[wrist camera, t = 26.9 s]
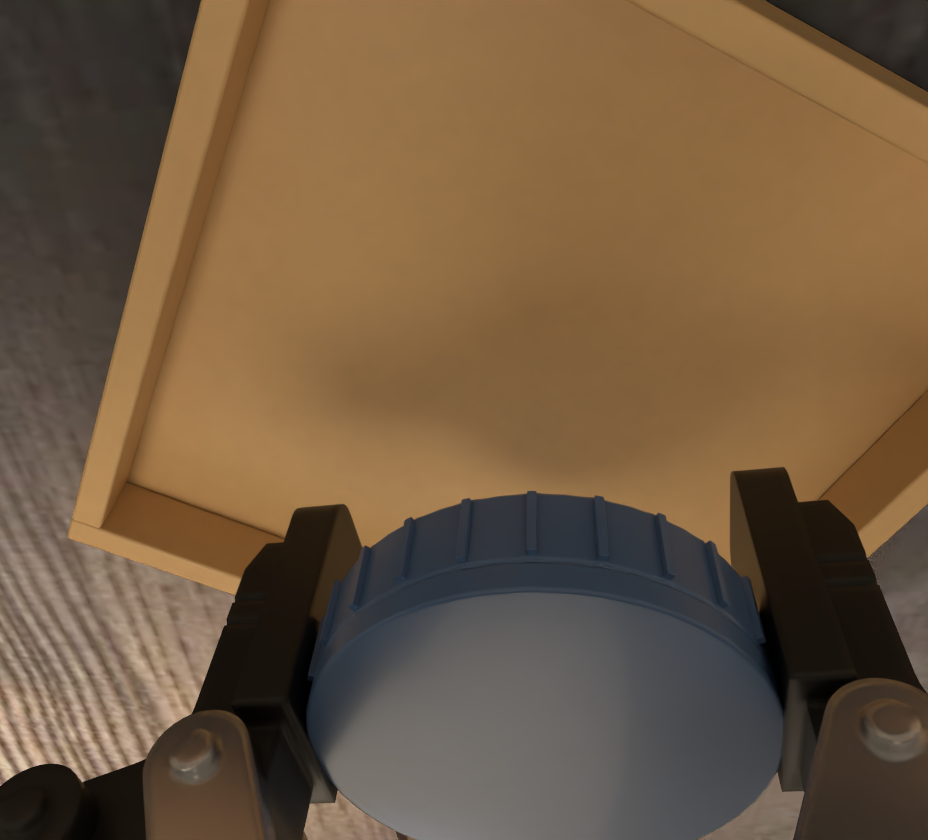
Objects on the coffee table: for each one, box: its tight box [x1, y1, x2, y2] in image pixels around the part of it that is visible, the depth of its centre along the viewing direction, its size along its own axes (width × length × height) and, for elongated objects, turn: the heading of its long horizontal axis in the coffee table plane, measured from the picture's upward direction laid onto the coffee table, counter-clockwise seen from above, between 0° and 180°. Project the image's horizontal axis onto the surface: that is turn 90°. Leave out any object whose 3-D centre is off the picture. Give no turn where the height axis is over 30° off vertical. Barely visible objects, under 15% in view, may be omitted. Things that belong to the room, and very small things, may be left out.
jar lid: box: [306, 491, 784, 840], centre depth 11 cm, size 6×6×2 cm
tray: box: [68, 0, 928, 595], centre depth 16 cm, size 14×14×2 cm
